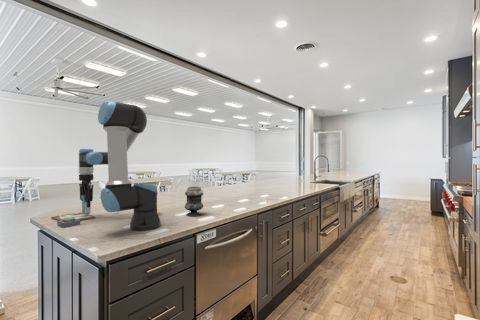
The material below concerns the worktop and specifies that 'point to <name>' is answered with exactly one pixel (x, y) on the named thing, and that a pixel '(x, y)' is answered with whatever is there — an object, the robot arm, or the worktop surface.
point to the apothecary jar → (194, 201)
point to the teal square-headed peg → (84, 203)
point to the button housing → (68, 223)
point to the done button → (68, 218)
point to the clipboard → (76, 215)
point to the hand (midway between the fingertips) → (86, 211)
